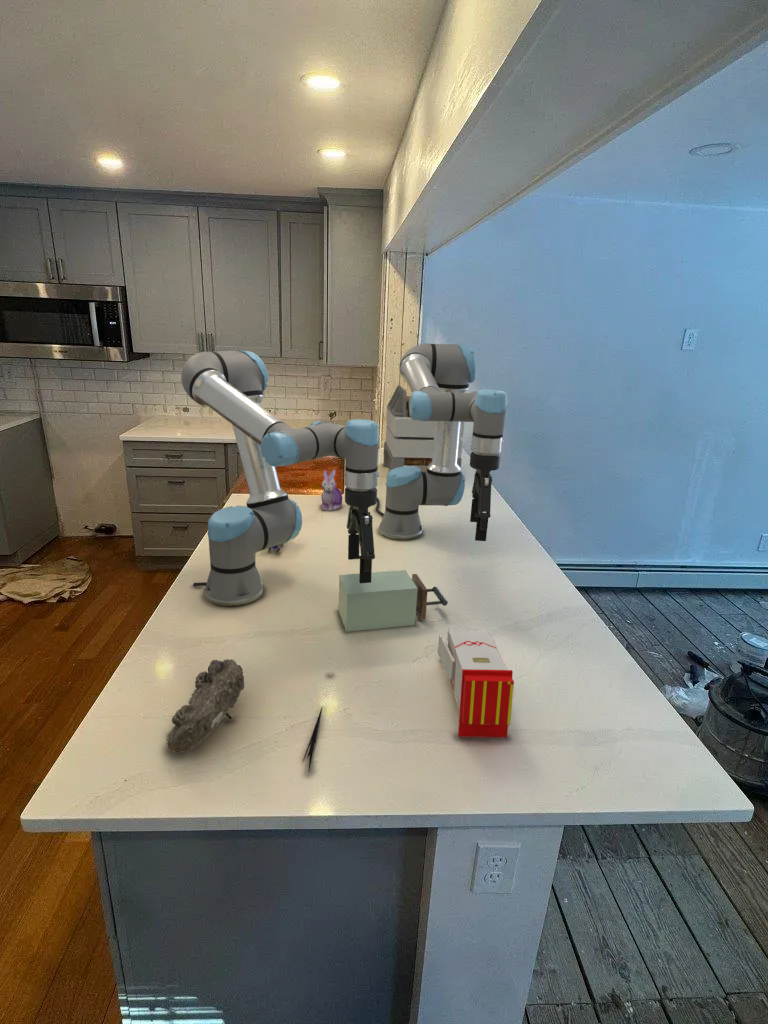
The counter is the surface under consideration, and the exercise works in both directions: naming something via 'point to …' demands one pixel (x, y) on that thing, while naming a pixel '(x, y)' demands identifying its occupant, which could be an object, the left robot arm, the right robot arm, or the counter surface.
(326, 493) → the figurine
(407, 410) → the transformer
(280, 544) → the figurine character
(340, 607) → the sage green rectangular box
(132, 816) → the counter surface
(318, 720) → the feather
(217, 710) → the fossil
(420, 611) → the drawer
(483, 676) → the toy
